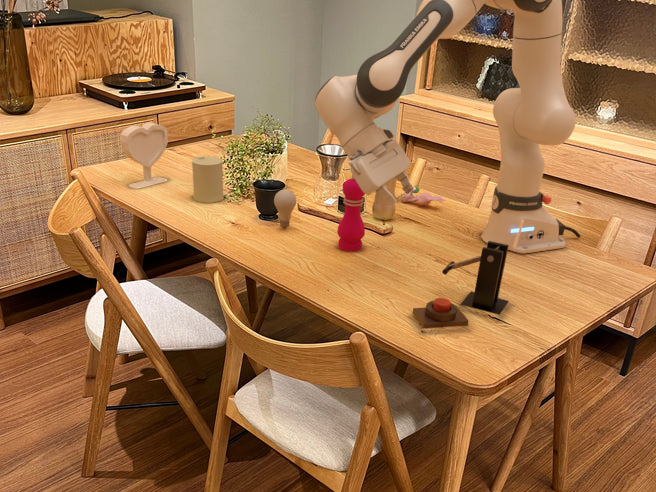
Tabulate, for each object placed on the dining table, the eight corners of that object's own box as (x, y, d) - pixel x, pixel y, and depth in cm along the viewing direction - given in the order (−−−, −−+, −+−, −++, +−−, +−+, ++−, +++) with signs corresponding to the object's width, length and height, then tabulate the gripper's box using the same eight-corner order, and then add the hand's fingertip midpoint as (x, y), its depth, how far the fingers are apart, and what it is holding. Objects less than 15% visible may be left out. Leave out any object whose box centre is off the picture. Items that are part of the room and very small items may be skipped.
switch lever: (444, 277, 158) (440, 268, 157) (452, 269, 162) (448, 259, 161) (498, 261, 150) (494, 251, 149) (505, 253, 154) (501, 243, 153)
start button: (446, 304, 152) (447, 297, 151) (452, 312, 149) (453, 304, 148) (430, 305, 151) (431, 298, 150) (436, 313, 148) (437, 305, 147)
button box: (454, 314, 155) (457, 298, 153) (466, 330, 150) (469, 313, 148) (411, 317, 154) (414, 301, 152) (422, 333, 148) (424, 316, 146)
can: (210, 191, 220) (209, 152, 214) (229, 198, 215) (229, 159, 209) (187, 197, 215) (185, 158, 208) (206, 205, 209) (204, 165, 203)
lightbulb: (278, 233, 192) (279, 194, 186) (270, 225, 197) (270, 187, 191) (298, 230, 194) (300, 192, 189) (290, 223, 199) (291, 185, 193)
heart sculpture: (133, 190, 218) (127, 131, 209) (123, 186, 221) (117, 127, 212) (172, 179, 228) (168, 123, 219) (162, 176, 231) (158, 120, 222)
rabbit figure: (394, 206, 218) (439, 209, 210) (394, 187, 215) (439, 190, 207) (403, 201, 223) (448, 204, 214) (403, 182, 220) (448, 184, 212)
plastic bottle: (388, 224, 201) (395, 154, 191) (367, 218, 204) (373, 150, 194) (398, 217, 206) (405, 149, 196) (377, 212, 209) (383, 145, 199)
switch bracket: (459, 309, 158) (469, 248, 150) (470, 295, 164) (480, 236, 156) (498, 319, 154) (511, 257, 147) (508, 305, 160) (521, 245, 153)
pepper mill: (361, 254, 182) (368, 178, 172) (334, 250, 183) (339, 175, 173) (365, 243, 188) (371, 170, 178) (338, 240, 189) (343, 167, 179)
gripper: (356, 148, 146) (395, 203, 147) (394, 128, 161) (429, 178, 162) (335, 166, 150) (373, 219, 151) (374, 145, 165) (409, 193, 166)
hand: (402, 197), depth 157 cm, fingers open, 8 cm apart
